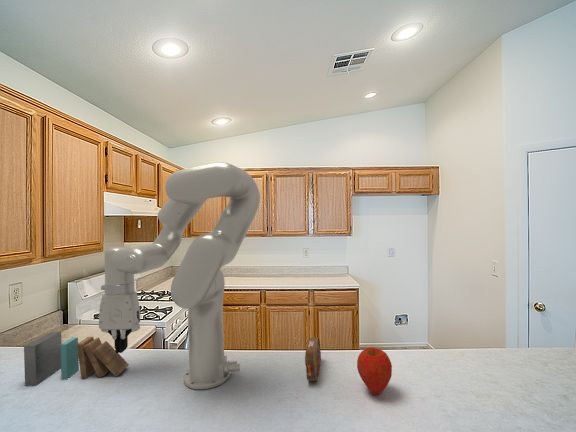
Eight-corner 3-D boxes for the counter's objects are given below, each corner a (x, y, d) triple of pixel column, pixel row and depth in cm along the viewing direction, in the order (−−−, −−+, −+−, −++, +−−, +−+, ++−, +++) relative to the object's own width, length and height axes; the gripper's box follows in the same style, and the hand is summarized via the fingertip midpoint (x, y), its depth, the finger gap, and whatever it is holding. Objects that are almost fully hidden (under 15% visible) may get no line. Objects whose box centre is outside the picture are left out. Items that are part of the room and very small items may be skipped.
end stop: (62, 367, 93) (61, 331, 93) (36, 385, 83) (35, 345, 83) (52, 367, 93) (51, 332, 93) (25, 386, 83) (23, 346, 83)
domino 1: (78, 370, 90) (77, 337, 90) (67, 379, 85) (66, 344, 85) (73, 370, 90) (72, 337, 90) (61, 379, 85) (60, 344, 85)
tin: (316, 388, 78) (315, 355, 78) (304, 387, 78) (303, 354, 78) (321, 360, 92) (320, 332, 92) (311, 359, 93) (310, 332, 93)
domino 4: (129, 364, 91) (106, 340, 91) (120, 373, 86) (96, 347, 86) (125, 368, 91) (102, 344, 91) (116, 377, 86) (92, 351, 86)
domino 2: (97, 369, 91) (93, 336, 91) (86, 378, 86) (82, 343, 86) (92, 369, 91) (87, 337, 91) (81, 378, 86) (76, 344, 86)
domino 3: (113, 366, 91) (98, 337, 91) (104, 375, 86) (88, 344, 86) (108, 369, 91) (93, 339, 91) (98, 377, 86) (83, 346, 86)
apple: (350, 388, 77) (349, 345, 77) (377, 379, 80) (375, 339, 80) (372, 407, 69) (371, 360, 69) (400, 397, 73) (399, 352, 73)
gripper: (86, 292, 84) (87, 357, 84) (139, 291, 85) (141, 356, 85) (101, 286, 92) (102, 346, 92) (151, 285, 92) (152, 344, 92)
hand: (121, 350), depth 88 cm, fingers closed
